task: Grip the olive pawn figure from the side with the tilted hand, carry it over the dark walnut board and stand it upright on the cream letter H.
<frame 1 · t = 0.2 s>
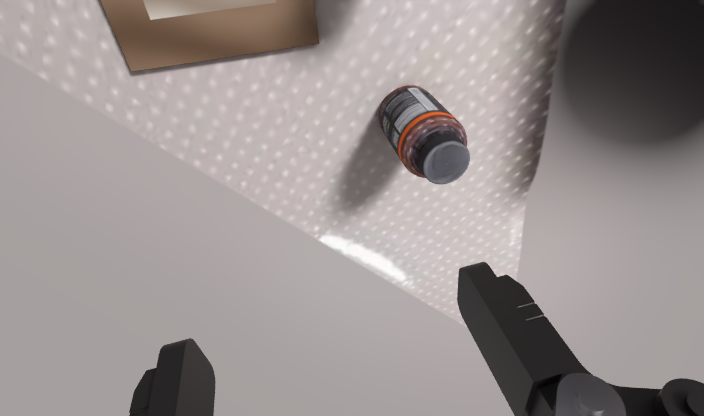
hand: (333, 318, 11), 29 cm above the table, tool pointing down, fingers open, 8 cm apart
supplement bottle: (404, 110, 40), on the table
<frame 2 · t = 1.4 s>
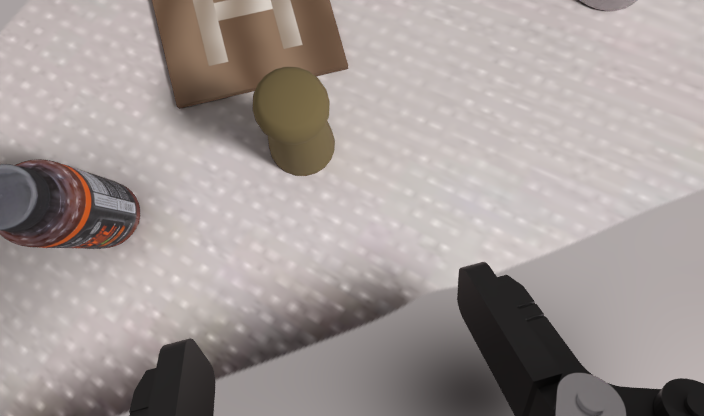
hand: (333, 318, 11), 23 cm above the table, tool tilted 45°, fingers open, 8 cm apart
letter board: (244, 10, 37), on the table
olive pawn figure: (302, 144, 36), on the table
supplement bottle: (110, 215, 34), on the table
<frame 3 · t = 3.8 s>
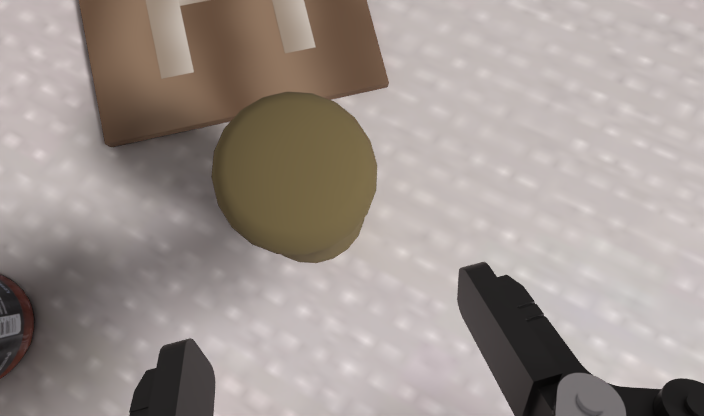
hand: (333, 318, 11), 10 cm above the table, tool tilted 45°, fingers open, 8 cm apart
olive pawn figure: (311, 209, 22), on the table
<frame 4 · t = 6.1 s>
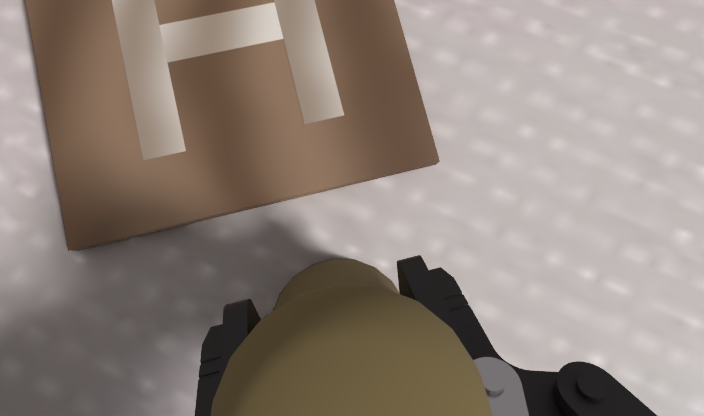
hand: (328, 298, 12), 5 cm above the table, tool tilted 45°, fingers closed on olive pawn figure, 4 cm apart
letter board: (225, 39, 18), on the table
olive pawn figure: (340, 328, 17), on the table, touching gripper
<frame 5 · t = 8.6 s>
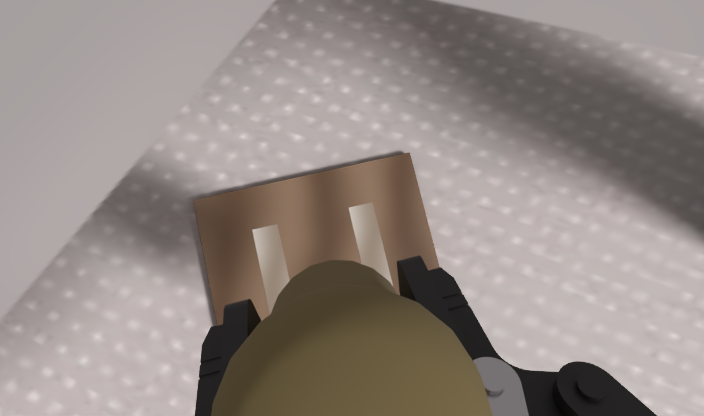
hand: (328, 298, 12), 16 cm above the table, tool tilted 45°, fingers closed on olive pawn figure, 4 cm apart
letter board: (328, 284, 28), on the table
olive pawn figure: (338, 329, 17), point 11 cm above the table, touching gripper
when the fingers open (7 cm above the table, at t = 11.4 s): olive pawn figure drops 1 cm, resting on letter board.
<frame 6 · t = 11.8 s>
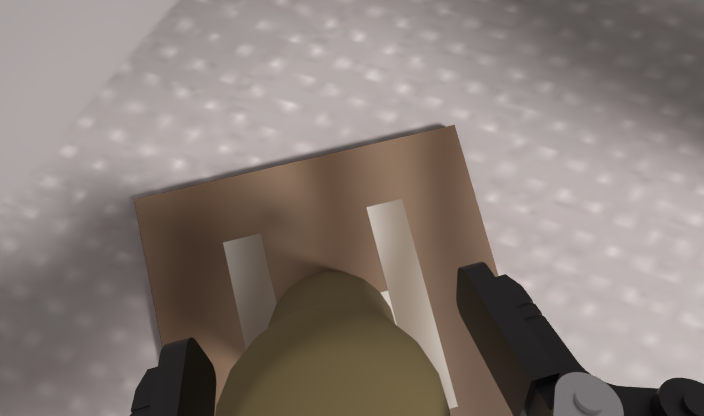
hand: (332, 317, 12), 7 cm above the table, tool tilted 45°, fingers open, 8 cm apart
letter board: (339, 321, 19), on the table
olive pawn figure: (332, 336, 18), resting on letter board
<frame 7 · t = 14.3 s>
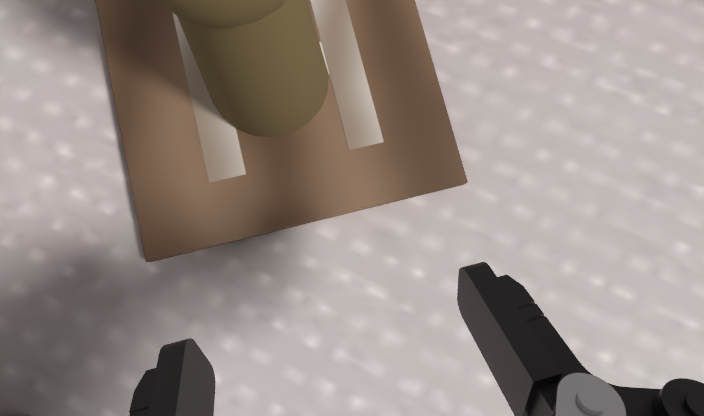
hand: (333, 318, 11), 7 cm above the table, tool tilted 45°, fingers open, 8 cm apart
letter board: (277, 74, 20), on the table
olive pawn figure: (269, 81, 20), resting on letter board
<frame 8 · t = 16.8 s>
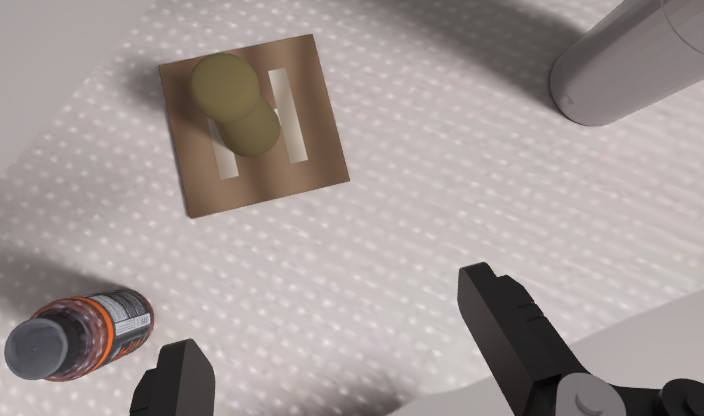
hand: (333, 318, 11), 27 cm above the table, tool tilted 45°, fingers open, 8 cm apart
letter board: (254, 124, 39), on the table
olive pawn figure: (250, 128, 39), resting on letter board
supplement bottle: (126, 320, 37), on the table
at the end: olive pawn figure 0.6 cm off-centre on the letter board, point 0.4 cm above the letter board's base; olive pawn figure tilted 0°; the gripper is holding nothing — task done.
